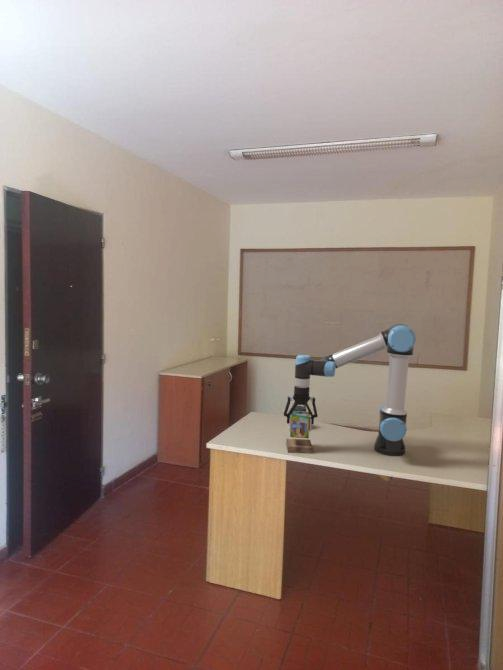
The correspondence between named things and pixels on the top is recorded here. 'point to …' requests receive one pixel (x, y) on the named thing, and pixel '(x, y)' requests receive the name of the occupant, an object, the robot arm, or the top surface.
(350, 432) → the top surface
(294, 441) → the block
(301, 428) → the chalk box
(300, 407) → the jar
